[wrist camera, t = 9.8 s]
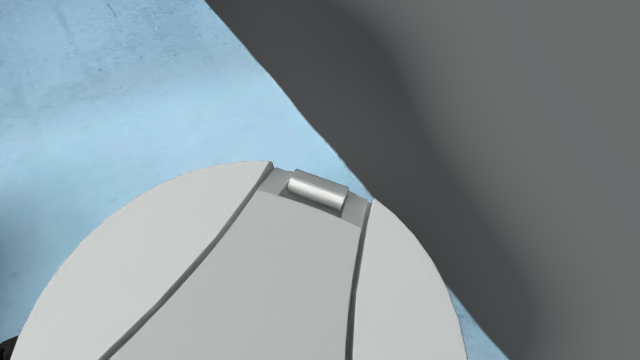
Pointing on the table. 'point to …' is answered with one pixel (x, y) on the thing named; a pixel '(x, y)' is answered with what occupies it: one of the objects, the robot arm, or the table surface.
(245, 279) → the coffee cup
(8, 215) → the table surface
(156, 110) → the table surface
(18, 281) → the table surface
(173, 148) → the table surface
